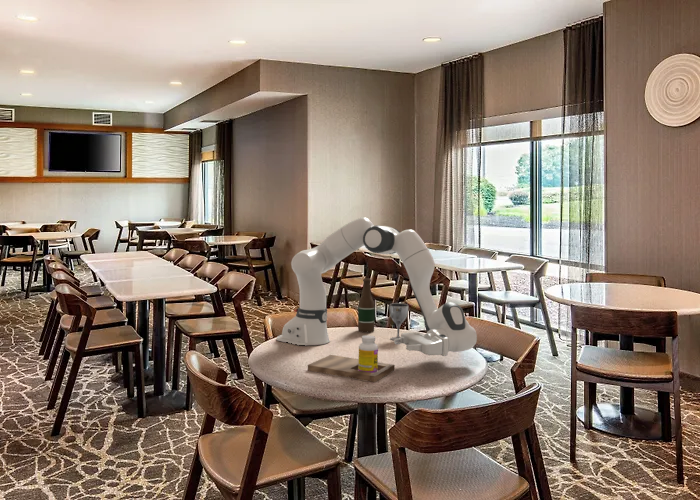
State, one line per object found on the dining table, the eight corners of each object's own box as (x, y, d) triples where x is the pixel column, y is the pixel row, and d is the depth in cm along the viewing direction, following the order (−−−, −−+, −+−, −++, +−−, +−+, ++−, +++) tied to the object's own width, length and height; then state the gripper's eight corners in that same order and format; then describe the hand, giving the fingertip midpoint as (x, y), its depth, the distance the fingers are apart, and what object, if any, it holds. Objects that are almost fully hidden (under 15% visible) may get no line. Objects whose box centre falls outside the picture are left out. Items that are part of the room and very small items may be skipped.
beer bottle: (376, 329, 278) (377, 278, 276) (371, 333, 271) (372, 280, 269) (360, 328, 281) (361, 277, 279) (355, 331, 274) (356, 279, 271)
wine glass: (410, 338, 262) (411, 304, 261) (402, 342, 255) (402, 307, 254) (394, 336, 266) (395, 302, 265) (385, 339, 260) (386, 305, 258)
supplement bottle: (375, 376, 206) (376, 339, 205) (356, 375, 207) (357, 338, 206) (378, 371, 212) (379, 335, 211) (360, 370, 214) (360, 334, 213)
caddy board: (307, 370, 212) (307, 364, 212) (330, 359, 226) (330, 354, 226) (374, 382, 200) (374, 376, 200) (394, 370, 214) (394, 364, 214)
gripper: (421, 327, 228) (388, 329, 223) (450, 338, 209) (414, 342, 204) (421, 343, 228) (388, 346, 223) (449, 356, 209) (414, 360, 204)
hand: (401, 344), depth 213 cm, fingers open, 8 cm apart
